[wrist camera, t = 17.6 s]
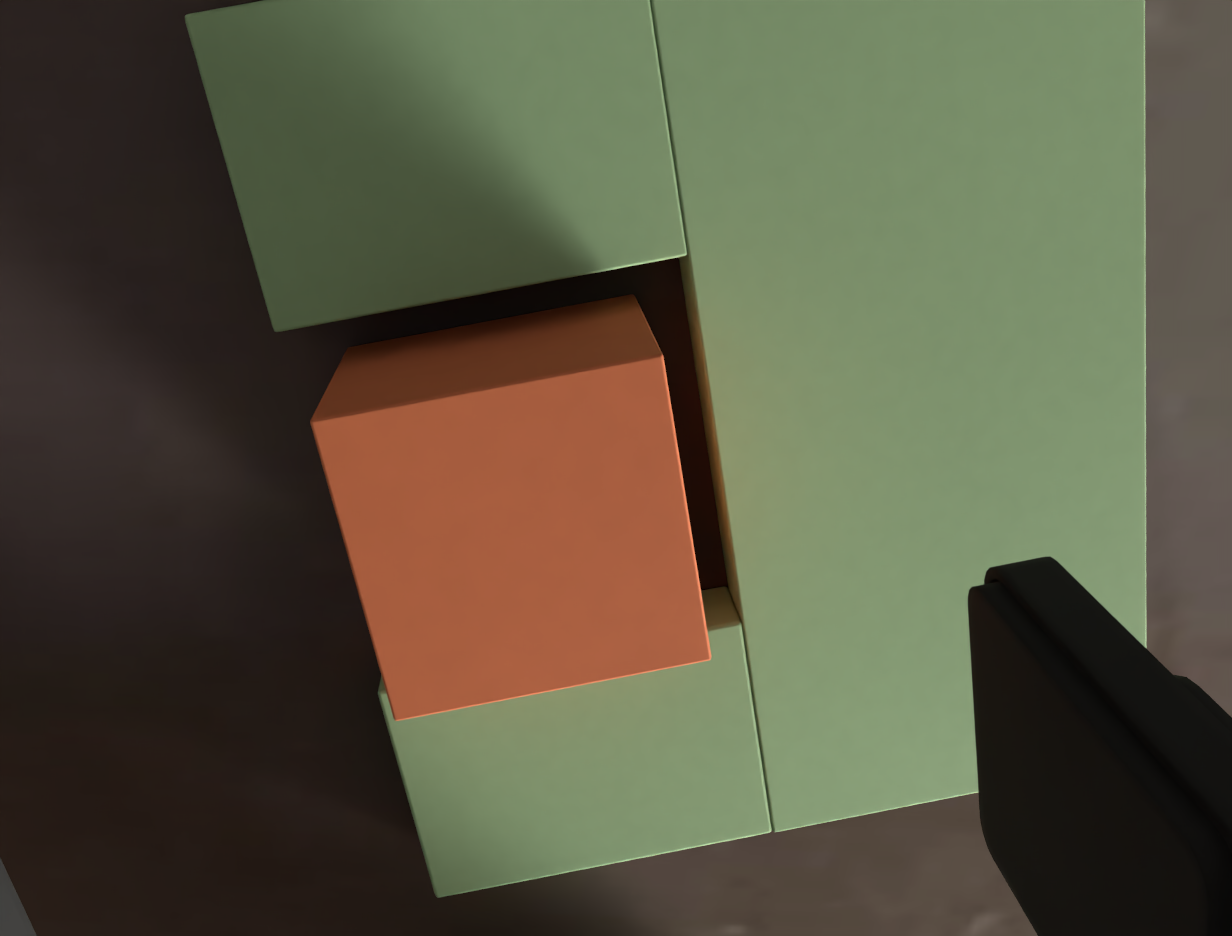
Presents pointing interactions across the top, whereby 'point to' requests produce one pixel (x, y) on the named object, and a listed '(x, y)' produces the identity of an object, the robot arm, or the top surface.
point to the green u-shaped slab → (746, 352)
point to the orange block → (513, 506)
